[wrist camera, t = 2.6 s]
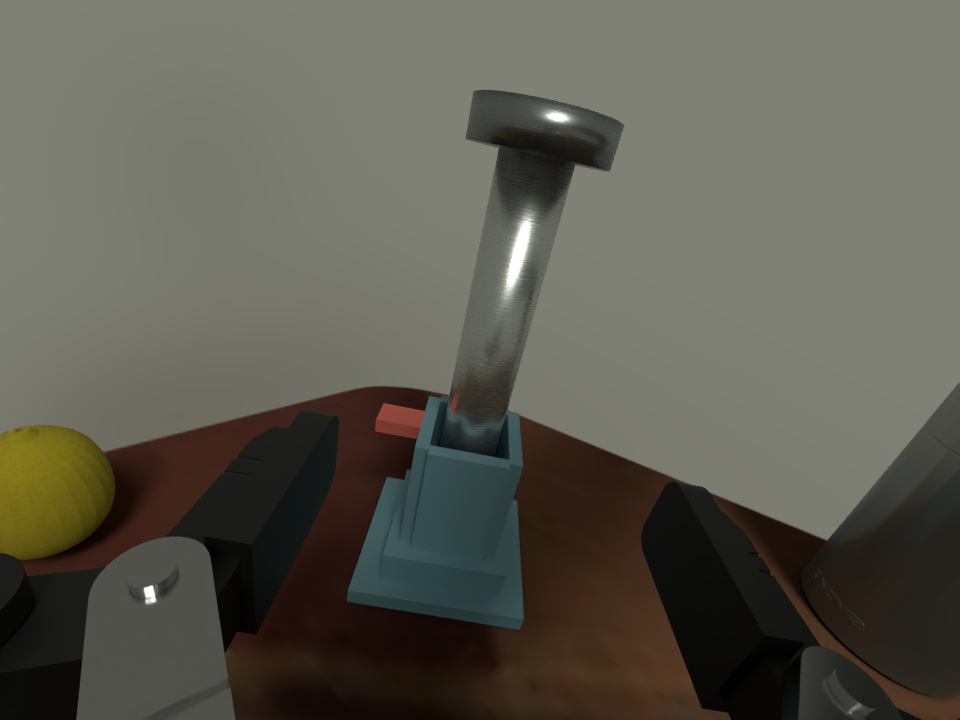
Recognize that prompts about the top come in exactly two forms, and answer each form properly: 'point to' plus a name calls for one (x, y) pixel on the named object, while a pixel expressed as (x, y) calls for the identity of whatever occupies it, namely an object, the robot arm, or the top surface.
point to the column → (515, 246)
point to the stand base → (445, 527)
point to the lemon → (51, 490)
